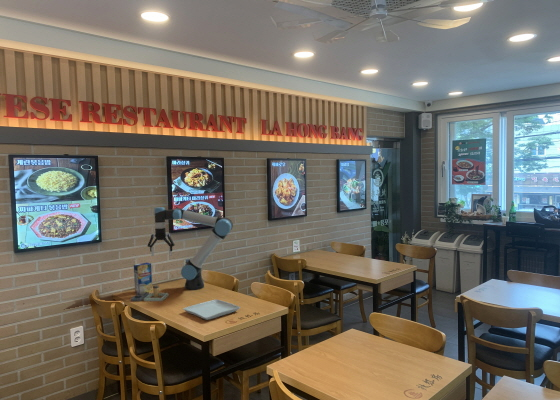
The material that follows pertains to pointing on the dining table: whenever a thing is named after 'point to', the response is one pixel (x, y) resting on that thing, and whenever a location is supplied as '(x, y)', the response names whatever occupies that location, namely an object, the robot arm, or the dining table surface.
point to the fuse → (142, 289)
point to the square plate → (211, 309)
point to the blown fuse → (156, 291)
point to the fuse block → (139, 297)
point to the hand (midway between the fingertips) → (161, 255)
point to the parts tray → (156, 298)
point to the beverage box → (143, 276)
